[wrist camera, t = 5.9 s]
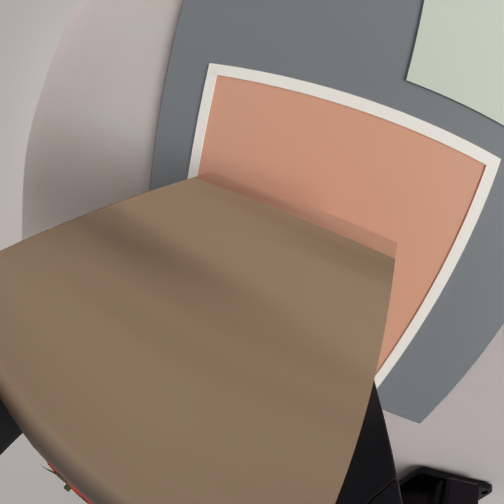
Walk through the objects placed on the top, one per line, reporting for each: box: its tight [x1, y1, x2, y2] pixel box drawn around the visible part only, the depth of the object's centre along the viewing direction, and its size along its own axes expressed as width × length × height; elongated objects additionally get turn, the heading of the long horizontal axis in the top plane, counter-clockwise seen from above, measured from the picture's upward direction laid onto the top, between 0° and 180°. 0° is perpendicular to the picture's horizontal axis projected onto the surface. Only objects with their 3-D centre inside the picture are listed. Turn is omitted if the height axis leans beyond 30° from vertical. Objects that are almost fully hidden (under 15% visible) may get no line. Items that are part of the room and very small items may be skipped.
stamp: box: [0, 171, 397, 504], centre depth 6 cm, size 5×5×7 cm
